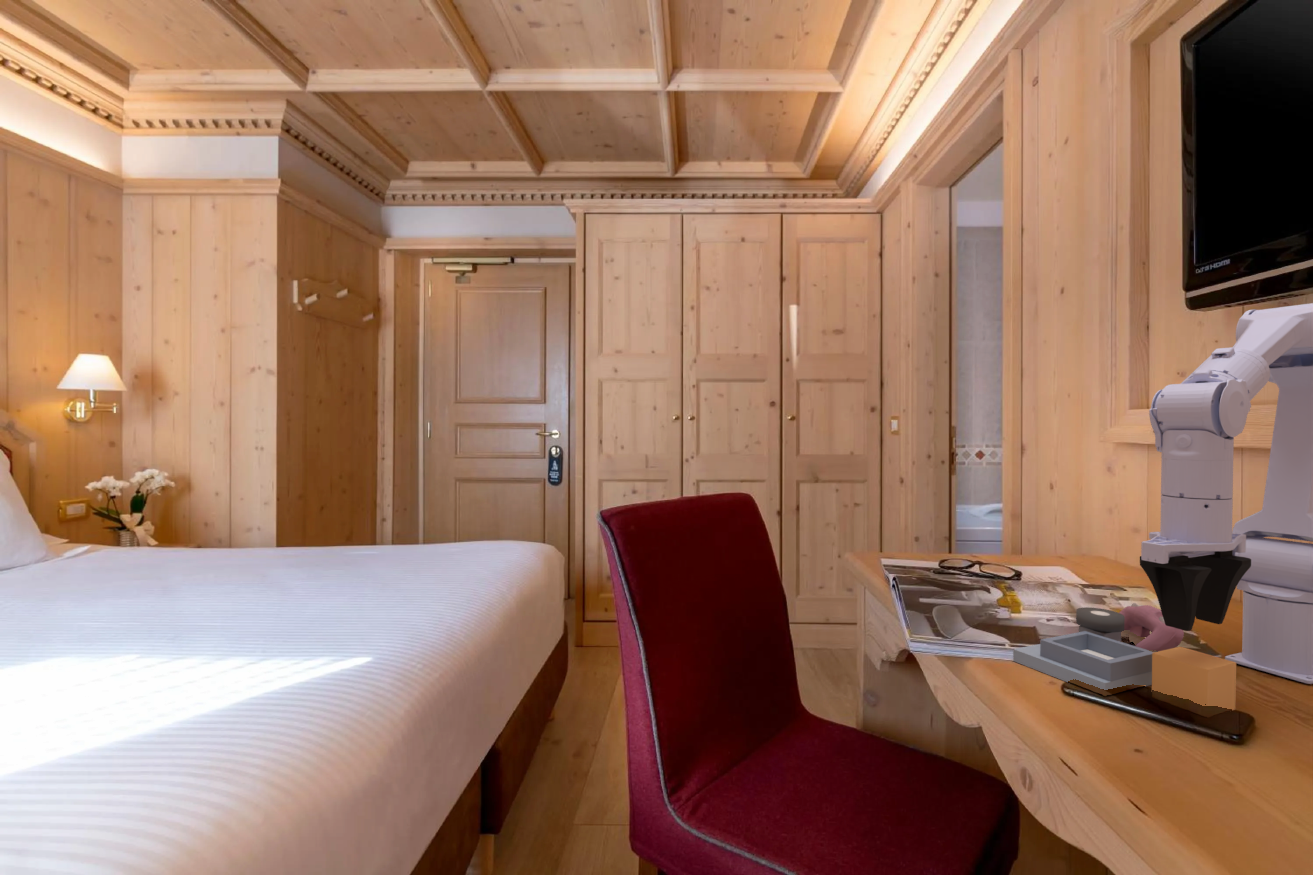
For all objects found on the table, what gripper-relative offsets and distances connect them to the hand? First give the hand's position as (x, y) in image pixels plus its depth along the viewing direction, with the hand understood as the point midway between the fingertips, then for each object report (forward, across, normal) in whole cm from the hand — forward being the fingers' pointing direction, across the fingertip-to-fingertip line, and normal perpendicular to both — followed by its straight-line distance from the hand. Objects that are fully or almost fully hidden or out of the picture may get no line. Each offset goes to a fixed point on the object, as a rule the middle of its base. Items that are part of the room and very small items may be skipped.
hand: (1193, 624), depth 66 cm
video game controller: (+9, -12, -12) cm, 19 cm away
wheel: (+7, -5, -13) cm, 15 cm away
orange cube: (+8, 0, 0) cm, 8 cm away
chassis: (+8, 0, -10) cm, 13 cm away
